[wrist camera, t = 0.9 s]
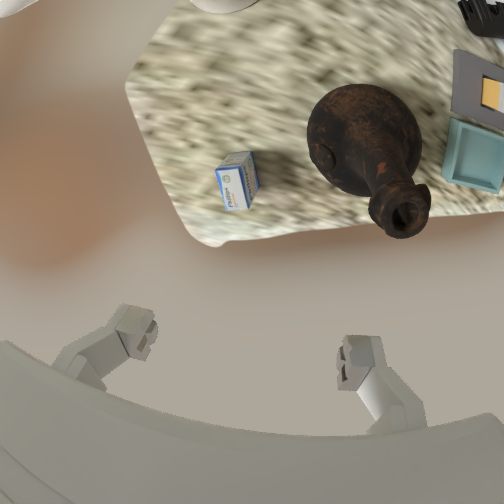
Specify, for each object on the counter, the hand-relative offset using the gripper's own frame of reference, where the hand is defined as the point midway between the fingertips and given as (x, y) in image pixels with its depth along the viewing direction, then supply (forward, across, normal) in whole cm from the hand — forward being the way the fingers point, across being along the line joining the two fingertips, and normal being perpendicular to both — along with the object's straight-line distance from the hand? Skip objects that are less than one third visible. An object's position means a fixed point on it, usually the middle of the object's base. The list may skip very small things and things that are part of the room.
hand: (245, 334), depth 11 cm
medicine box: (+43, +7, +5) cm, 44 cm away
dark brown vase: (+40, -13, -5) cm, 42 cm away
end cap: (+34, -34, -35) cm, 59 cm away
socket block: (+36, -36, -20) cm, 54 cm away
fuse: (+35, -36, -20) cm, 54 cm away
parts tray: (+38, -37, -7) cm, 53 cm away
